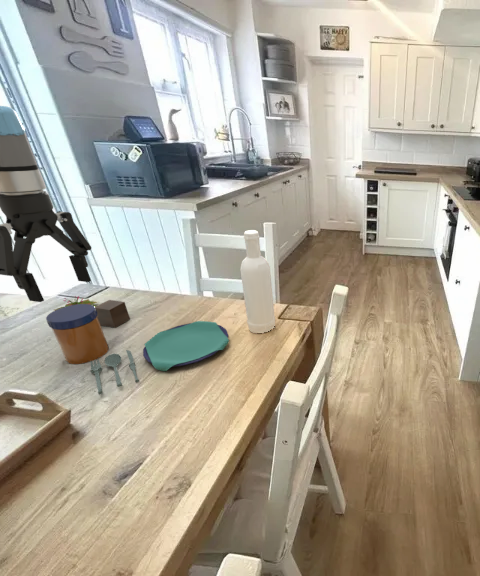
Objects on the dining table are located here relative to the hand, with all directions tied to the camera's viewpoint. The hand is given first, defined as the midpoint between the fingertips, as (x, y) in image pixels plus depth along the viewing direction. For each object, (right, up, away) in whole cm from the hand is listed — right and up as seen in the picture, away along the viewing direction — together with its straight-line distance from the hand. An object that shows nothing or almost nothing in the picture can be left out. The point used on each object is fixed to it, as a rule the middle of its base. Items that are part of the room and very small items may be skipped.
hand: (62, 290), depth 75 cm
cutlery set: (+18, -17, +10) cm, 27 cm away
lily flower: (-21, -7, +26) cm, 33 cm away
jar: (-1, -16, +8) cm, 18 cm away
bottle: (+37, -12, +24) cm, 46 cm away
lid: (-1, -6, +3) cm, 7 cm away
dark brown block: (-5, -10, +21) cm, 24 cm away
